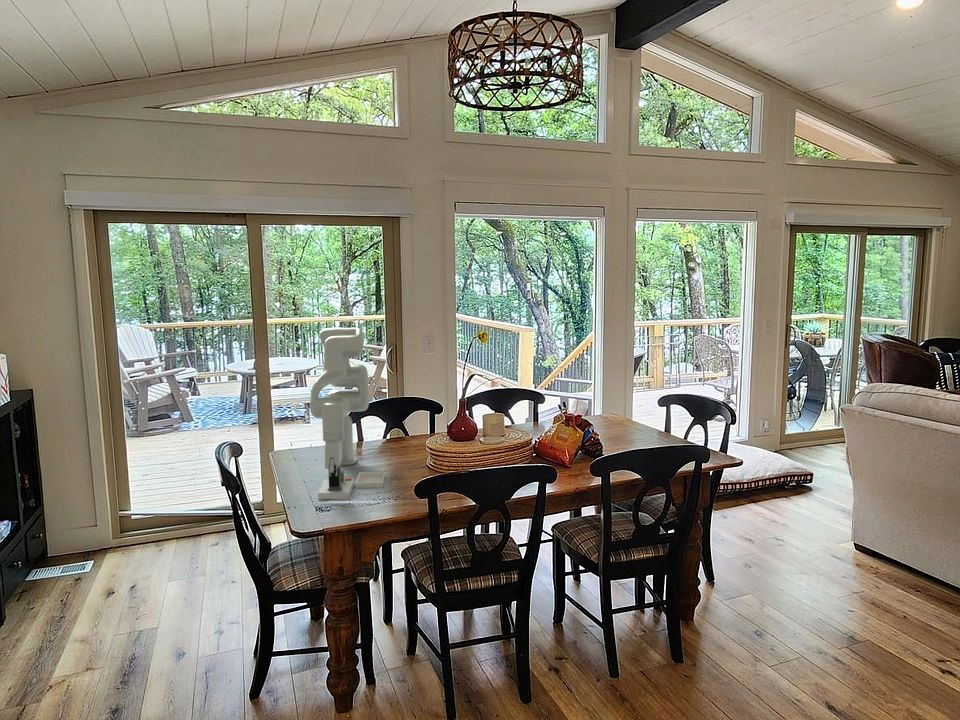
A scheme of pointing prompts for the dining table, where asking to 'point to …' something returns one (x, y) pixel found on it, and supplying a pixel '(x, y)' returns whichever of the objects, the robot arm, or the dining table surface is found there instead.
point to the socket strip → (337, 494)
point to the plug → (339, 480)
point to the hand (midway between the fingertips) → (334, 484)
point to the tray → (370, 479)
